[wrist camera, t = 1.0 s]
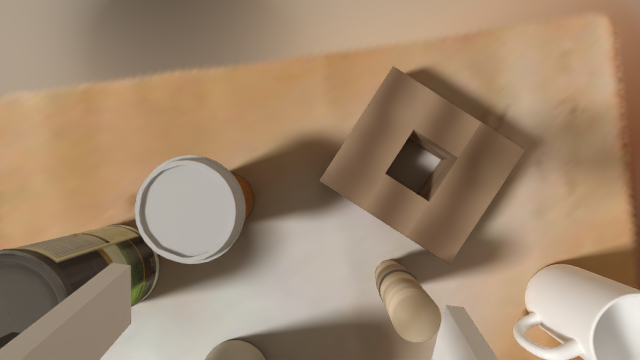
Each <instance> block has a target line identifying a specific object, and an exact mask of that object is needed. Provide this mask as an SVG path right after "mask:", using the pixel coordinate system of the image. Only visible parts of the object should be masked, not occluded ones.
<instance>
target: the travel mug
mask: <svg viewBox="0 0 640 360" xmlns="http://www.w3.org/2000/svg"><path fill="white" fill-rule="evenodd" d="M205 360H266V359H265V357H264V355H263V354H262V353H261V352H260V350H258V349H257V348H256V347H255V346H253V345H252V344H250V343H248V342H245V341H240V340H231V341H226V342H223V343H221V344H219V345H217V346H216V347H215V348H214V349H212V351H211V352H210V353H209V354H208V356H207V357H206V359H205Z"/></svg>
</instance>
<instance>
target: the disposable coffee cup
mask: <svg viewBox="0 0 640 360" xmlns="http://www.w3.org/2000/svg"><path fill="white" fill-rule="evenodd" d="M253 206H254V195H253V191H252V189H251V187H250V185H249V184H248V183H247V181H246V180H244V179H243V178H241V177H240V176H237V175H235V174H233V173H231V172H230V171H229V170H228V169H226V168H225V167H224V166H222V165H221V164H220V163H218V162H216V161H214V160H212V159H209V158H206V157H202V156H194V155H186V156H180V157H176V158H173V159H170V160H168V161H166V162H164V163H163V164H161V165H160V166H158V167H157V168H156V169H155V170H154V171H152V173H151V174H150V175H149V176H148V177H147V178H146V180H145V181H144V182H143V184H142V186H141V188H140V190H139V192H138V193H137V198H136V203H135V218H136V224H137V227H138V230H139V232H140V235H141V236H142V238H143V239H144V241H145V242H146V243H147V244H148V245H149V247H150V248H151V249H153V250H154V251H155V252H156V253H157V254H159V255H161V256H163V257H165V258H167V259H170V260H173V261H176V262H180V263H186V264H199V263H204V262H208V261H210V260H213V259H215V258H217V257H219V256H220V255H222V254H223V253H225V252H226V251H227V250H228V249H230V247H231V246H232V245H233V244H234V243H235V241H236V240H237V238H238V237H239V235H240V233H241V231H242V228H243V224H244V222H245V220H246V219H247V217H248V216H249V215H250V213H251V211H252V209H253Z"/></svg>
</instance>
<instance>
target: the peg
mask: <svg viewBox="0 0 640 360" xmlns="http://www.w3.org/2000/svg"><path fill="white" fill-rule="evenodd" d="M375 277H376V284H377V289H378V291H379V294H380V297H381V299H382V301H383V302H384V305H385V307H386V309H387V312H388V314H389V316H390V319H391V321H392V323H393V326H394V328H395V330H396V332H397V333H398V334H399V335H400V336H401V337H402V338H404V339H405V340H408V341H410V342H423V341H426V340H428V339H430V338H431V337H433V336H434V335H435V334H436V332H437V331H438V329H439V327H440V323H441V314H440V310H439V308H438V306H437V305H436V303H435V302H434V301H433V300H432V299H431V297H430V296H429V295H428V294H427V292H426V291H425V290H424V289H423V288H422V286H421V285H420V284H419V283H418V281H417V280H416V278H415V277H414V276H413V275H412V274H411V273H410V272H409V271H408V270H407V269H406V268H405V267H403V266H401V265H400V264H399V263H398V262H396V261H393V260H385V261H383V262H381V263H380V264H379V265H378V266H377V268H376V271H375Z"/></svg>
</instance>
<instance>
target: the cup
mask: <svg viewBox="0 0 640 360" xmlns="http://www.w3.org/2000/svg"><path fill="white" fill-rule="evenodd" d="M525 303H526V308H527V310H528V313H529V315H527V316H525V317H523V318H521V319H520V320H518V321H517V322H516V324H515V325H514V328H513V333H514V336H515V338H516V340H517V341H518V342H519V344H521V345H522V346H523V347H524V348H525V349H527V350H528V351H530V352H531V353H533V354H534V355H536V356H538V357H540V358H543V359H546V360H568V359H571V358H574V357H576V356H580V357H581V358H583V359H584V360H640V290H638V289H635V288H632V287H630V286H627V285H624V284H622V283H619V282H616V281H614V280H611V279H608V278H606V277H603V276H600V275H598V274H595V273H592V272H590V271H587V270H584V269H582V268H579V267H576V266H572V265H567V264H555V265H550V266H547V267H545V268H543V269H541V270H540V271H538V272H537V273H536V274H535V275H534V276H533V277H532V278H531V280H530V281H529V283H528V285H527V288H526V292H525ZM537 325H538V326H539V327H541V328H542V329H543V330H544V331H546V332H547V333H548V334H550V335H551V336H553V337H554V338H555V339H557V340H558V341H559V342H561V343H562V345H560V346H557V347H553V348H549V347H544V346H541V345H539V344H537V343H535V342H533V341H532V340H530V339H529V338H528V337H527V336H526V335H525V332H526V331H527V330H528V329H530V328H532V327H534V326H537Z"/></svg>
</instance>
